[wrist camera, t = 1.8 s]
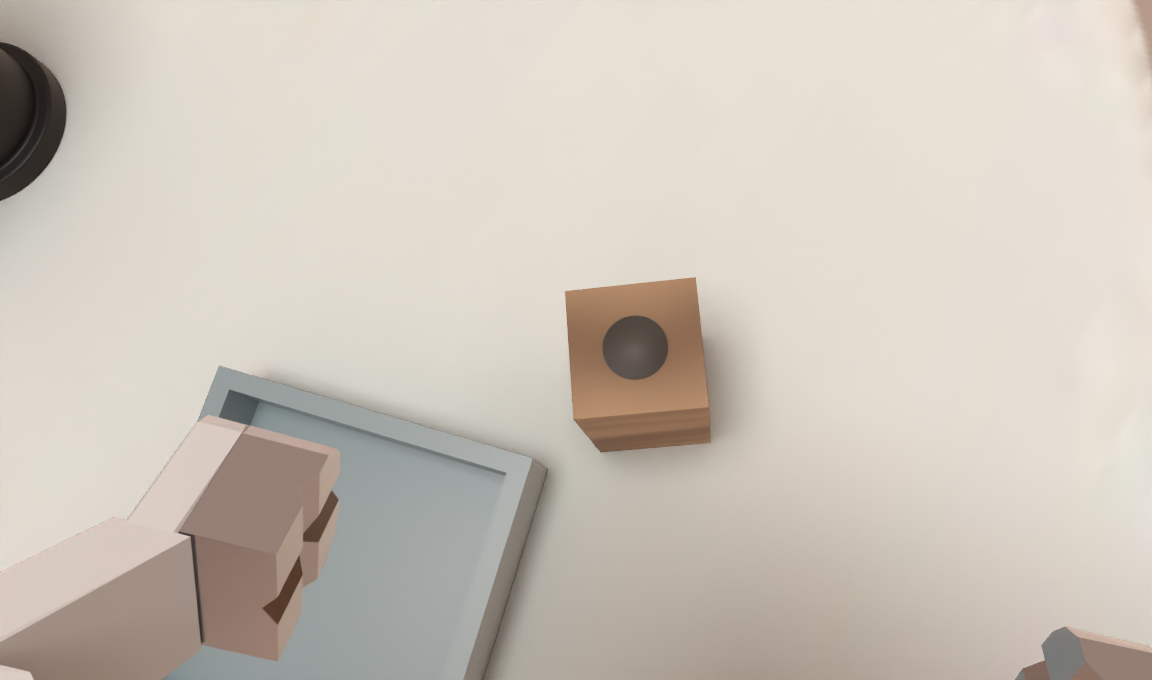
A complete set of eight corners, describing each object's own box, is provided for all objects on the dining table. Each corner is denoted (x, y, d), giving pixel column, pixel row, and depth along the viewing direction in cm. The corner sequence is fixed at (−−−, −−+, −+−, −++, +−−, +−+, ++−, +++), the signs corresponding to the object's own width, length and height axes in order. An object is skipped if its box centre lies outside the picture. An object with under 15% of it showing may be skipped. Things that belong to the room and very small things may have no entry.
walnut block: (710, 442, 40) (708, 406, 32) (600, 452, 40) (573, 418, 33) (699, 336, 41) (695, 276, 33) (592, 346, 41) (564, 290, 34)
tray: (442, 808, 38) (416, 830, 34) (140, 693, 40) (87, 703, 37) (547, 469, 40) (532, 458, 37) (257, 383, 43) (219, 365, 40)
